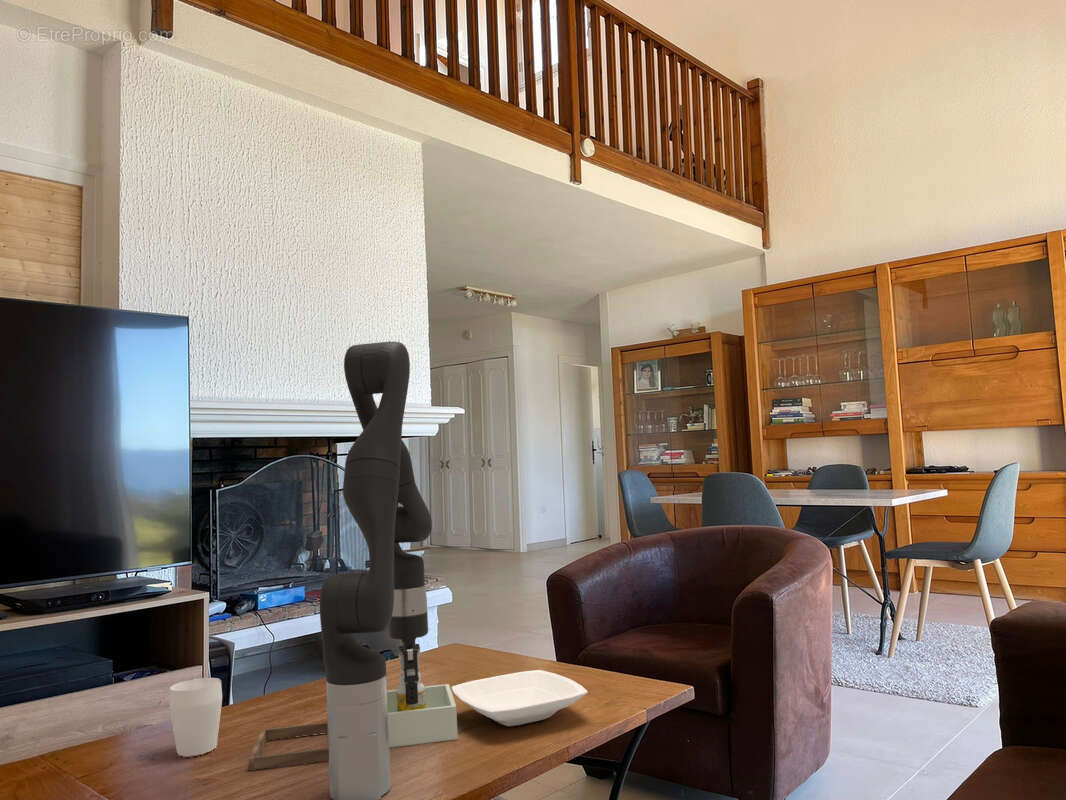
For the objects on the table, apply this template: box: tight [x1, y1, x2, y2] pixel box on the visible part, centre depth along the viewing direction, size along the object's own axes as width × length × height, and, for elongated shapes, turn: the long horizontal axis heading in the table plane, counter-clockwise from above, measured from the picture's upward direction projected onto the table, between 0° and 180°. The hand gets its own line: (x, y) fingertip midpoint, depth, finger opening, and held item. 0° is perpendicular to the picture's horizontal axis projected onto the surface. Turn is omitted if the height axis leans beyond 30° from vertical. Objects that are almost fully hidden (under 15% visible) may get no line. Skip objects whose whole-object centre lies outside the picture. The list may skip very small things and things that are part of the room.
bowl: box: [451, 669, 589, 727], centre depth 153 cm, size 22×23×6 cm
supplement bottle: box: [396, 671, 426, 712], centre depth 149 cm, size 5×5×10 cm
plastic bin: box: [387, 683, 459, 749], centre depth 149 cm, size 16×16×6 cm
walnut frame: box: [248, 721, 329, 771], centre depth 142 cm, size 16×16×2 cm
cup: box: [168, 677, 223, 756], centre depth 144 cm, size 9×9×12 cm
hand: (411, 697), depth 149 cm, fingers open, 8 cm apart
